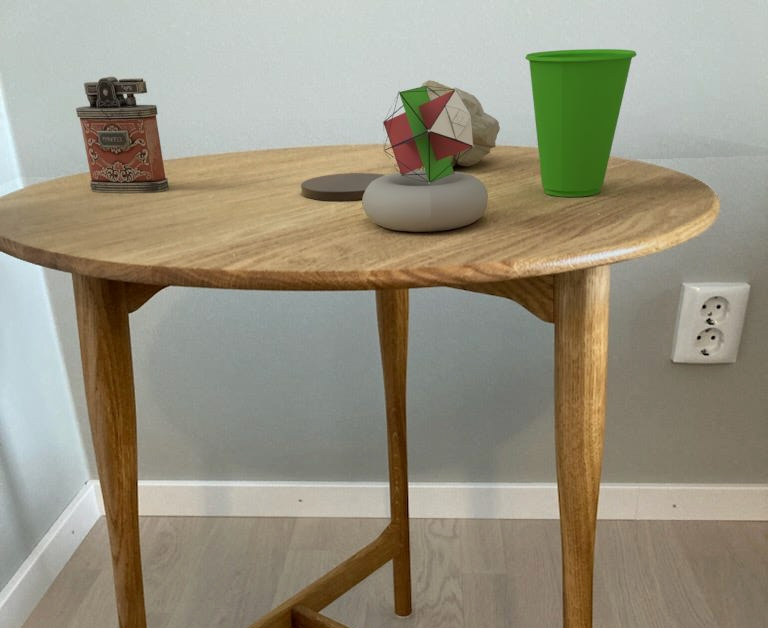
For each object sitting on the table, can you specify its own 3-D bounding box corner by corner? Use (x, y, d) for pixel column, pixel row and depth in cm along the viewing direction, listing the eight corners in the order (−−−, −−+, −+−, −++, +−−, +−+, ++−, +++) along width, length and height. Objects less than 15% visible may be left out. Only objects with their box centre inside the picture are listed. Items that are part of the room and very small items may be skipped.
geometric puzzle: (345, 152, 70) (397, 59, 65) (390, 138, 75) (442, 51, 70) (412, 216, 70) (470, 128, 64) (453, 198, 75) (509, 115, 69)
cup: (637, 184, 82) (650, 48, 77) (604, 205, 76) (615, 57, 70) (543, 179, 86) (549, 49, 81) (504, 197, 80) (508, 57, 74)
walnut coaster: (297, 202, 81) (296, 193, 81) (306, 183, 89) (305, 174, 89) (397, 198, 81) (397, 189, 81) (397, 180, 89) (397, 171, 89)
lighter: (84, 192, 90) (62, 80, 85) (101, 185, 93) (81, 76, 88) (159, 192, 88) (142, 78, 83) (174, 185, 91) (158, 74, 86)
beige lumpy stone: (468, 153, 102) (387, 171, 99) (459, 71, 98) (375, 88, 95) (526, 159, 92) (439, 179, 89) (520, 68, 88) (428, 86, 85)
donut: (455, 205, 79) (346, 216, 76) (456, 162, 77) (344, 172, 74) (509, 228, 71) (389, 242, 68) (512, 182, 69) (388, 193, 66)
